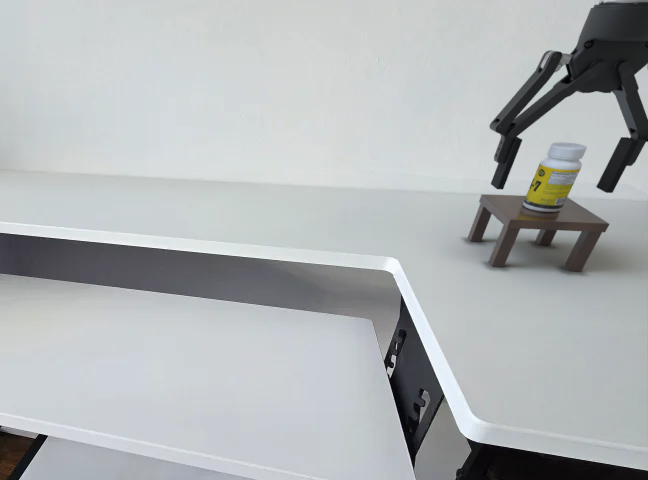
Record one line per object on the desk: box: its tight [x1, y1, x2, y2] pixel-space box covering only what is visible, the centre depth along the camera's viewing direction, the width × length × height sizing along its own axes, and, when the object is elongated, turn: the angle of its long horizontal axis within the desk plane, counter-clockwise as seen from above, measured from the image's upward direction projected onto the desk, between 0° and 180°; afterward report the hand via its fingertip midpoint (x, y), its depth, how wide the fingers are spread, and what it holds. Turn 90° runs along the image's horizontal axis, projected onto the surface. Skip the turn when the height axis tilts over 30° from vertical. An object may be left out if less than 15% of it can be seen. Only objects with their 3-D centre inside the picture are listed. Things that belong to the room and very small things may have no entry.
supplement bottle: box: [523, 141, 588, 212], centre depth 69 cm, size 5×5×8 cm
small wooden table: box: [467, 193, 610, 272], centre depth 73 cm, size 12×12×7 cm
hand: (549, 188), depth 70 cm, fingers open, 13 cm apart
